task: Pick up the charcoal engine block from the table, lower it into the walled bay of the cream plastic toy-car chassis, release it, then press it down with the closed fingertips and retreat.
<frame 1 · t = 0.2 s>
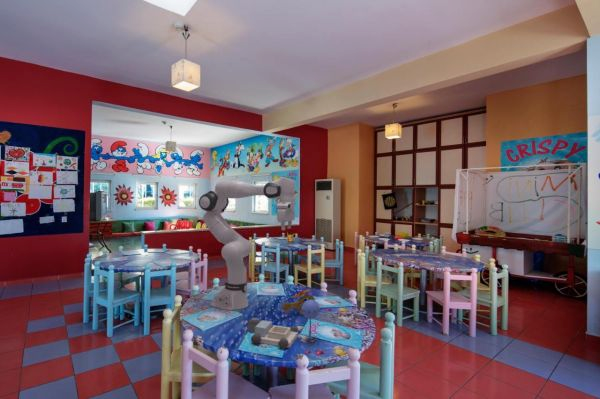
hand: (286, 229, 178), 47 cm above the table, tool pointing down, fingers open, 8 cm apart
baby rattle: (309, 338, 146), on the table
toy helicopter: (300, 314, 176), on the table
engine block: (254, 330, 153), on the table
chassis: (275, 338, 145), on the table
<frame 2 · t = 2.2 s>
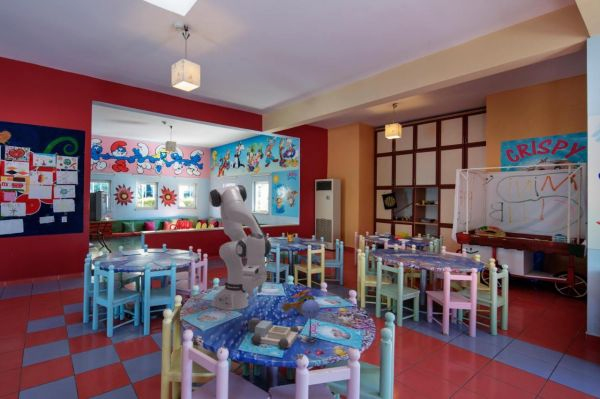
hand: (255, 295, 153), 17 cm above the table, tool pointing down, fingers open, 8 cm apart
nothing on the table moved.
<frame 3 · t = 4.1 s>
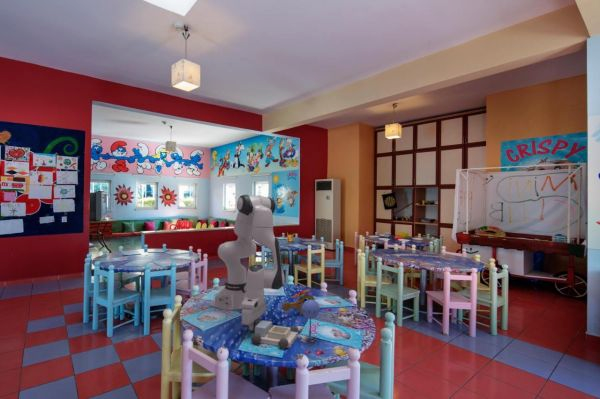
hand: (254, 327, 153), 2 cm above the table, tool pointing down, fingers closed on engine block, 4 cm apart
engine block: (254, 330, 153), on the table, touching gripper
everything else where it was.
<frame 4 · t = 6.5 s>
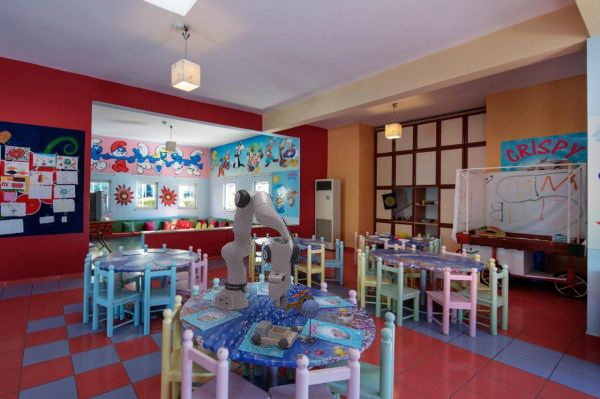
hand: (280, 303, 144), 17 cm above the table, tool pointing down, fingers closed on engine block, 4 cm apart
engine block: (280, 307, 144), point 15 cm above the table, touching gripper
everything else where it was.
when the fingers open (5 cm above the table, at t = 8.9 s): engine block drops 2 cm, resting on chassis.
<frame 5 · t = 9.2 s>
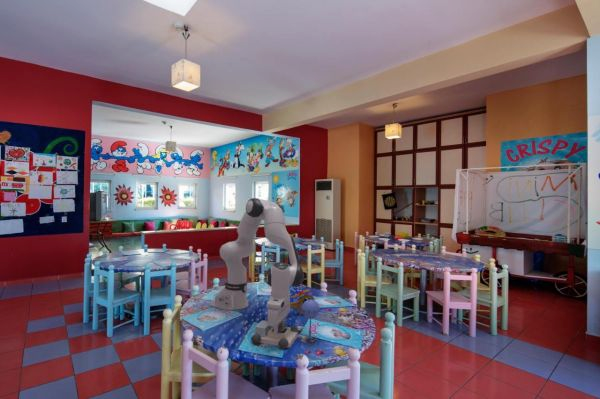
hand: (279, 328, 144), 5 cm above the table, tool pointing down, fingers open, 7 cm apart
engine block: (279, 335, 144), point 2 cm above the table, touching chassis
everything else where it was.
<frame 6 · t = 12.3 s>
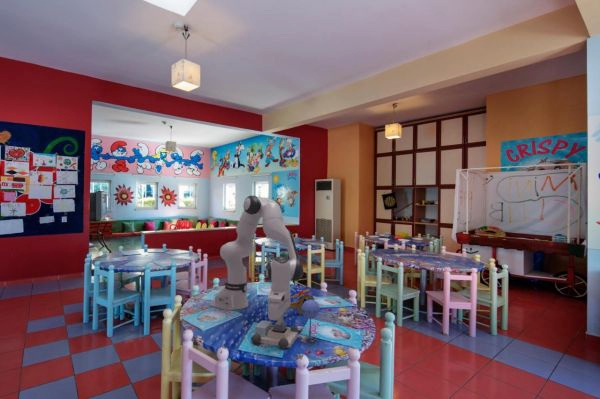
hand: (280, 322, 144), 8 cm above the table, tool pointing down, fingers closed, pressing on engine block
engine block: (279, 335, 144), point 2 cm above the table, touching chassis, gripper
everything else where it was.
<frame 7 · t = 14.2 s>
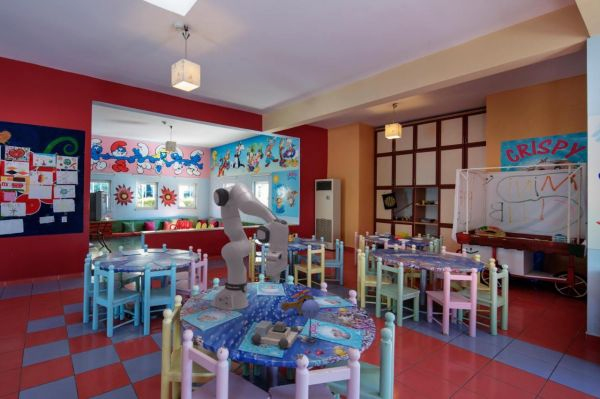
hand: (276, 281, 152), 25 cm above the table, tool pointing down, fingers closed
engine block: (279, 335, 144), point 2 cm above the table, touching chassis
everything else where it was.
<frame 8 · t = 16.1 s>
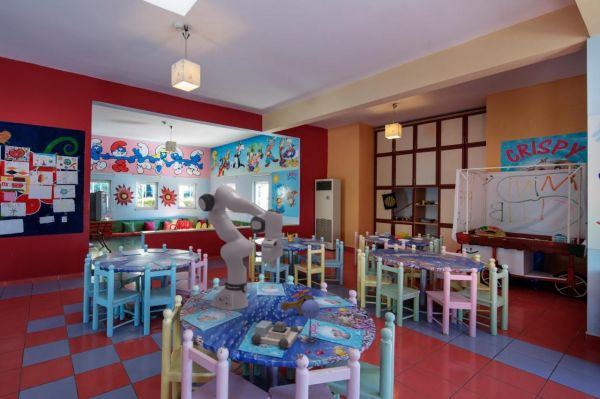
hand: (272, 267, 161), 29 cm above the table, tool pointing down, fingers closed
nothing on the table moved.
at the end: engine block 0.1 cm from the target spot on the chassis, point 2.0 cm above the chassis's base; engine block tilted 0°; the gripper is holding nothing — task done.
